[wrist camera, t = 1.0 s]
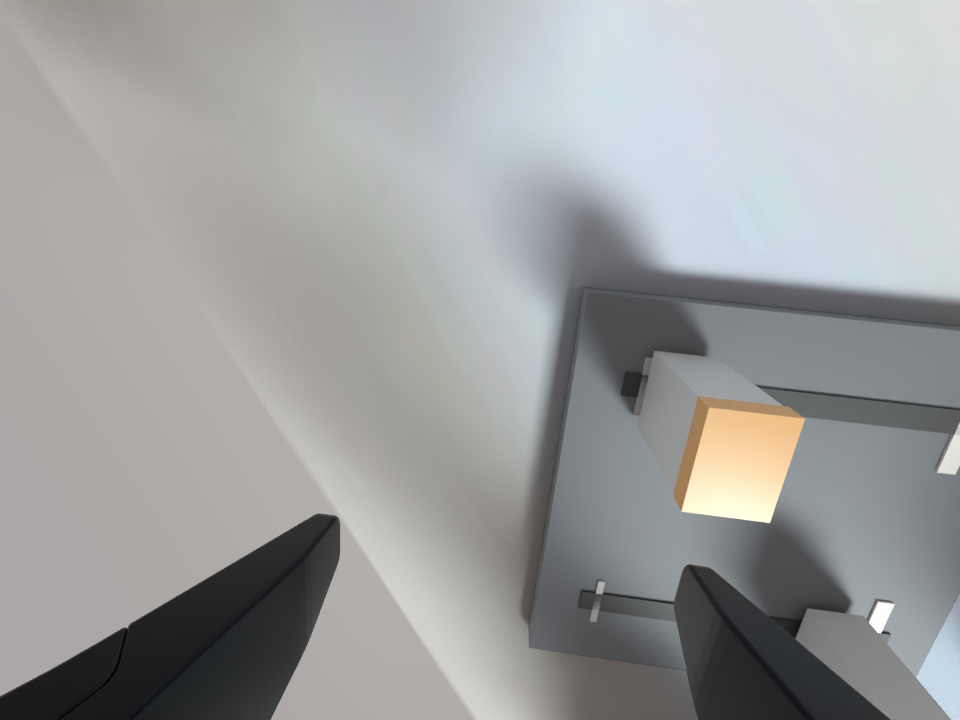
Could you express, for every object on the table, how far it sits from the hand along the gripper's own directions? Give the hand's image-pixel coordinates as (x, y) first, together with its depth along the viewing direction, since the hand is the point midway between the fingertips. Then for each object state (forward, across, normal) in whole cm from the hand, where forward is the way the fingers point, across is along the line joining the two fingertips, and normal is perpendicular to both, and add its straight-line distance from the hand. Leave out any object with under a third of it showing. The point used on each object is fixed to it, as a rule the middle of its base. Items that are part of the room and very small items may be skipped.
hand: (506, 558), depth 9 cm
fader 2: (+10, -15, +11) cm, 22 cm away
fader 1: (+10, -6, 0) cm, 12 cm away
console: (+12, -11, +6) cm, 17 cm away
